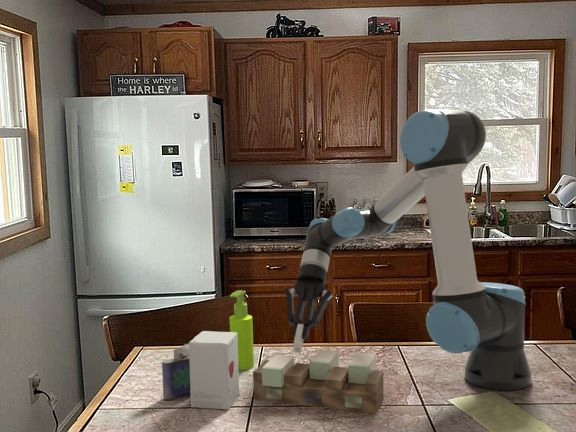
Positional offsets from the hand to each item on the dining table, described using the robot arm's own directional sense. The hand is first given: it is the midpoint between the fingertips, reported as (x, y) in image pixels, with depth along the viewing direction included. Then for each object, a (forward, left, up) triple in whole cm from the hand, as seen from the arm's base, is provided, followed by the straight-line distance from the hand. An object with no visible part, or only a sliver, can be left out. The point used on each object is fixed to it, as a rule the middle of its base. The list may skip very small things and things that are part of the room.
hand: (296, 349), depth 159 cm
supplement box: (+13, +20, -7) cm, 25 cm away
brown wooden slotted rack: (-9, +13, -6) cm, 18 cm away
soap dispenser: (+16, -2, -7) cm, 17 cm away
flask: (+22, +19, -7) cm, 30 cm away
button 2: (-18, +8, -2) cm, 20 cm away
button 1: (0, +14, -2) cm, 15 cm away
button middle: (-9, +8, -2) cm, 12 cm away
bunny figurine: (+30, 0, -7) cm, 30 cm away
